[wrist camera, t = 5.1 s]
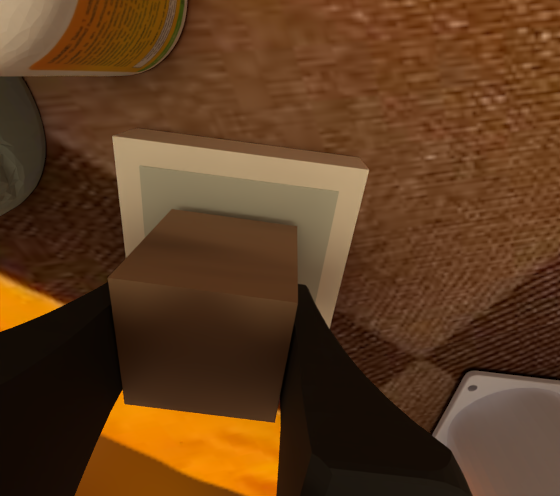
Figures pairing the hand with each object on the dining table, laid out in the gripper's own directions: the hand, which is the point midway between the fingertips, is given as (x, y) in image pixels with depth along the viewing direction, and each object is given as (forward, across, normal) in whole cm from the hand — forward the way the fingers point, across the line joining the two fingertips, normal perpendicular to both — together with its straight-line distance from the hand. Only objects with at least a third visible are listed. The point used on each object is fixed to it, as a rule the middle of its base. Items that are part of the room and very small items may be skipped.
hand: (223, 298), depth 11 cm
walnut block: (+2, 0, 0) cm, 2 cm away
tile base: (+4, 0, 0) cm, 4 cm away
